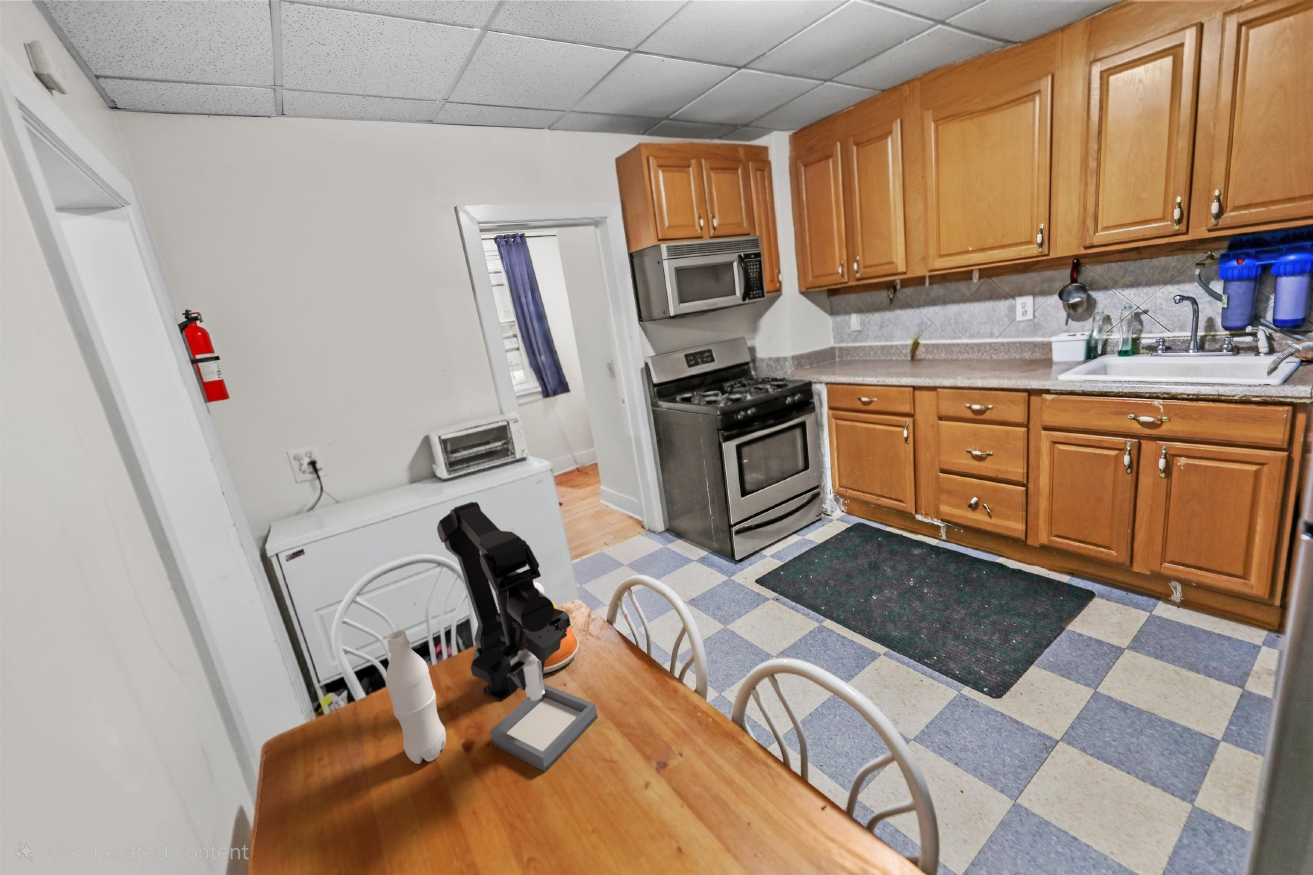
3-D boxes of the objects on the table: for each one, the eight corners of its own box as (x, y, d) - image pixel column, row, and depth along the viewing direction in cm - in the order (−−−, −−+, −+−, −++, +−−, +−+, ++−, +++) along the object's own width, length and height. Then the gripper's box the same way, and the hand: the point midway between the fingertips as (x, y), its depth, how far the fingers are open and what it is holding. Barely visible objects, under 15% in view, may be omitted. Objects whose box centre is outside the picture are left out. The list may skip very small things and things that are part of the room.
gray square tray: (493, 744, 101) (489, 730, 100) (546, 696, 112) (543, 683, 111) (545, 772, 93) (542, 757, 92) (597, 717, 104) (595, 704, 103)
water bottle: (434, 769, 97) (400, 647, 91) (399, 767, 98) (364, 647, 93) (456, 738, 104) (426, 623, 98) (423, 737, 105) (392, 623, 100)
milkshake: (535, 680, 103) (525, 636, 100) (553, 691, 99) (543, 645, 97) (516, 696, 99) (504, 650, 97) (534, 707, 96) (522, 660, 93)
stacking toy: (561, 631, 135) (547, 560, 130) (592, 654, 124) (578, 577, 119) (508, 660, 126) (491, 584, 122) (536, 687, 115) (519, 605, 111)
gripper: (503, 650, 83) (522, 733, 87) (585, 590, 97) (598, 664, 101) (460, 631, 89) (479, 710, 93) (542, 578, 104) (556, 648, 108)
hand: (531, 682), depth 99 cm, fingers closed on milkshake, 4 cm apart
